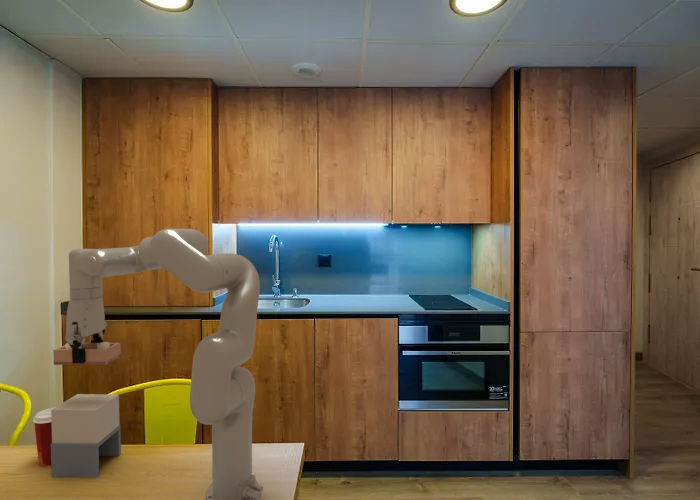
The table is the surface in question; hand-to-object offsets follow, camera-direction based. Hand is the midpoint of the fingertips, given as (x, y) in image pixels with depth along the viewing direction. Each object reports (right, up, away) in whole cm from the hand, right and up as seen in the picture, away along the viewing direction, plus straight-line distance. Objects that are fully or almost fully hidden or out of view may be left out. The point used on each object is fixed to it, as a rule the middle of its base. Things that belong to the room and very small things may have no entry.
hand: (88, 357), depth 113 cm
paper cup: (-13, -30, +3) cm, 33 cm away
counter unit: (-1, -30, +1) cm, 30 cm away
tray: (0, -1, 0) cm, 1 cm away
